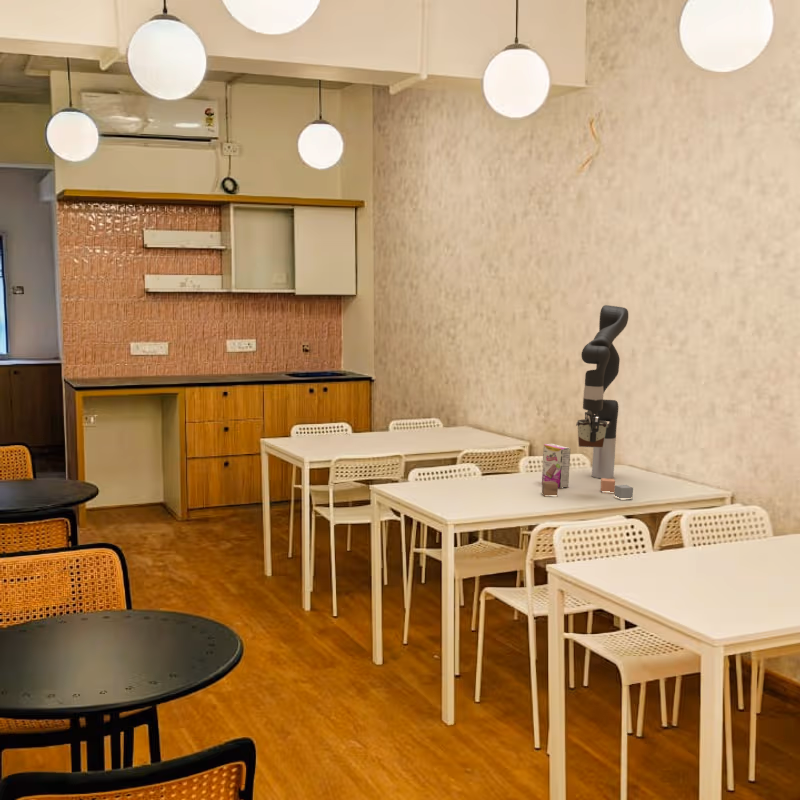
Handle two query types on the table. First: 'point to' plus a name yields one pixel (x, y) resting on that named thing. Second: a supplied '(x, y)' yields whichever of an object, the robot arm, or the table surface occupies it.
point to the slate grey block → (623, 491)
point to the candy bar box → (556, 464)
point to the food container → (585, 434)
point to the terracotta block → (607, 484)
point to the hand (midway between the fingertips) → (590, 440)
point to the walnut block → (549, 488)
